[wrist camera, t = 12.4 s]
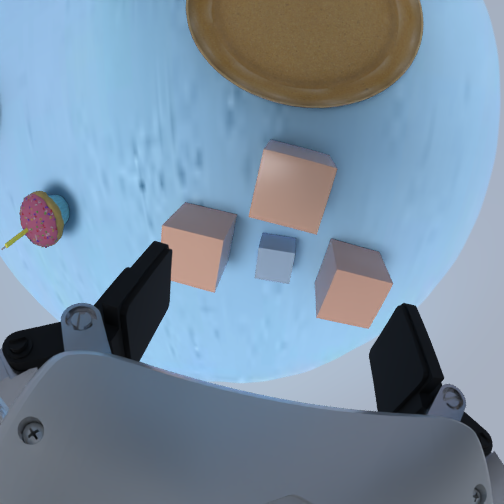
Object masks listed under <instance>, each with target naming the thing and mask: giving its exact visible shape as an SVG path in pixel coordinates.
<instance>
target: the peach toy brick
mask: <svg viewBox="0 0 504 504" xmlns="http://www.w3.org/2000/svg"><path fill="white" fill-rule="evenodd" d="M236 218H237V214H233V213H229V212H224V211H220V210H216V209H212V208H207V207H203V206H199V205H195V204H190V203H186V202H185V203H184V204H183V205H182V206H181V207H180V208H179V209H178V210H177V211H176V212H175V213H174V214H173V215H172V216H171V217H170V218H169V219H168V220H167V221H166V222H165V223H164V224H163V225H162V235H161V243H165V244H168V245H169V249H172V251H173V253H172V267H171V281H175V282H178V283H182V284H185V285H189V286H192V287H196V288H200V289H203V290H207V291H211V292H214V293H215V290H216V288H217V286H218V283H219V281H220V279H221V276H222V274H223V271H224V269H225V267H226V264H227V262H228V258H229V253H230V248H231V243H232V238H233V233H234V228H235V223H236Z"/></svg>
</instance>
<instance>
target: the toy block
mask: <svg viewBox="0 0 504 504" xmlns="http://www.w3.org/2000/svg"><path fill="white" fill-rule="evenodd" d="M336 171H337V167H336V165H335V164H334V162H333V160H332V159H331V157H330V155H327V154H324V153H321V152H317V151H313V150H310V149H306V148H302V147H299V146H295V145H291V144H287V143H283V142H279V141H275V140H270V141H269V142H268V144H267V145H266V147H265V148H264V150H263V154H262V159H261V163H260V168H259V172H258V176H257V181H256V185H255V190H254V194H253V199H252V203H251V208H250V212H249V217H251V218H255V219H259V220H263V221H267V222H270V223H274V224H278V225H282V226H286V227H290V228H294V229H298V230H301V231H305V232H309V233H313V234H316V235H317V232H318V229H319V226H320V223H321V219H322V216H323V213H324V210H325V207H326V204H327V201H328V198H329V194H330V191H331V188H332V185H333V181H334V178H335V175H336Z"/></svg>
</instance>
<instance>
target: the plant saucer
mask: <svg viewBox="0 0 504 504" xmlns="http://www.w3.org/2000/svg"><path fill="white" fill-rule="evenodd" d="M186 15H187V21H188V26H189V29H190V32H191V35H192V38H193V40H194V42H195V44H196V46H197V48H198V49H199V51H200V52H201V54H202V55H203V56H204V58H205V59H206V60H207V61H208V63H209V64H210V65H211V66H212V67H213V68H214V69H215V70H216V71H217V72H218V73H220V74H221V75H222V76H223V77H225V78H226V79H227V80H229V81H230V82H231V83H233V84H235V85H236V86H238V87H239V88H241V89H243V90H245V91H247V92H249V93H251V94H253V95H256V96H258V97H261V98H263V99H266V100H269V101H273V102H276V103H280V104H285V105H290V106H296V107H307V108H327V107H337V106H343V105H348V104H352V103H356V102H359V101H362V100H365V99H368V98H370V97H372V96H374V95H376V94H378V93H380V92H382V91H384V90H385V89H387V88H388V87H389V86H391V85H392V84H393V83H395V82H396V81H397V80H398V79H399V78H400V77H401V76H402V75H403V74H404V73H405V72H406V70H407V69H408V68H409V67H410V65H411V64H412V62H413V60H414V58H415V56H416V54H417V52H418V49H419V47H420V44H421V40H422V35H423V13H422V7H421V3H420V0H186Z"/></svg>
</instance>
